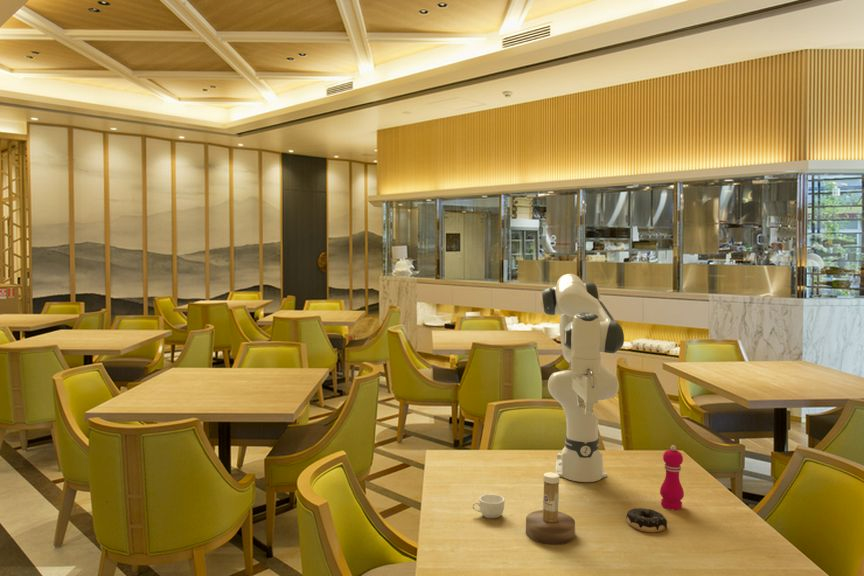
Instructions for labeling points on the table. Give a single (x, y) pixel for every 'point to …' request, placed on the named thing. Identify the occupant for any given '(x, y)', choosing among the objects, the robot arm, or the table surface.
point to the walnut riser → (550, 528)
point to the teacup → (490, 505)
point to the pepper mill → (672, 480)
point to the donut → (646, 520)
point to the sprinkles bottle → (550, 497)
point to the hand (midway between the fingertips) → (584, 411)
